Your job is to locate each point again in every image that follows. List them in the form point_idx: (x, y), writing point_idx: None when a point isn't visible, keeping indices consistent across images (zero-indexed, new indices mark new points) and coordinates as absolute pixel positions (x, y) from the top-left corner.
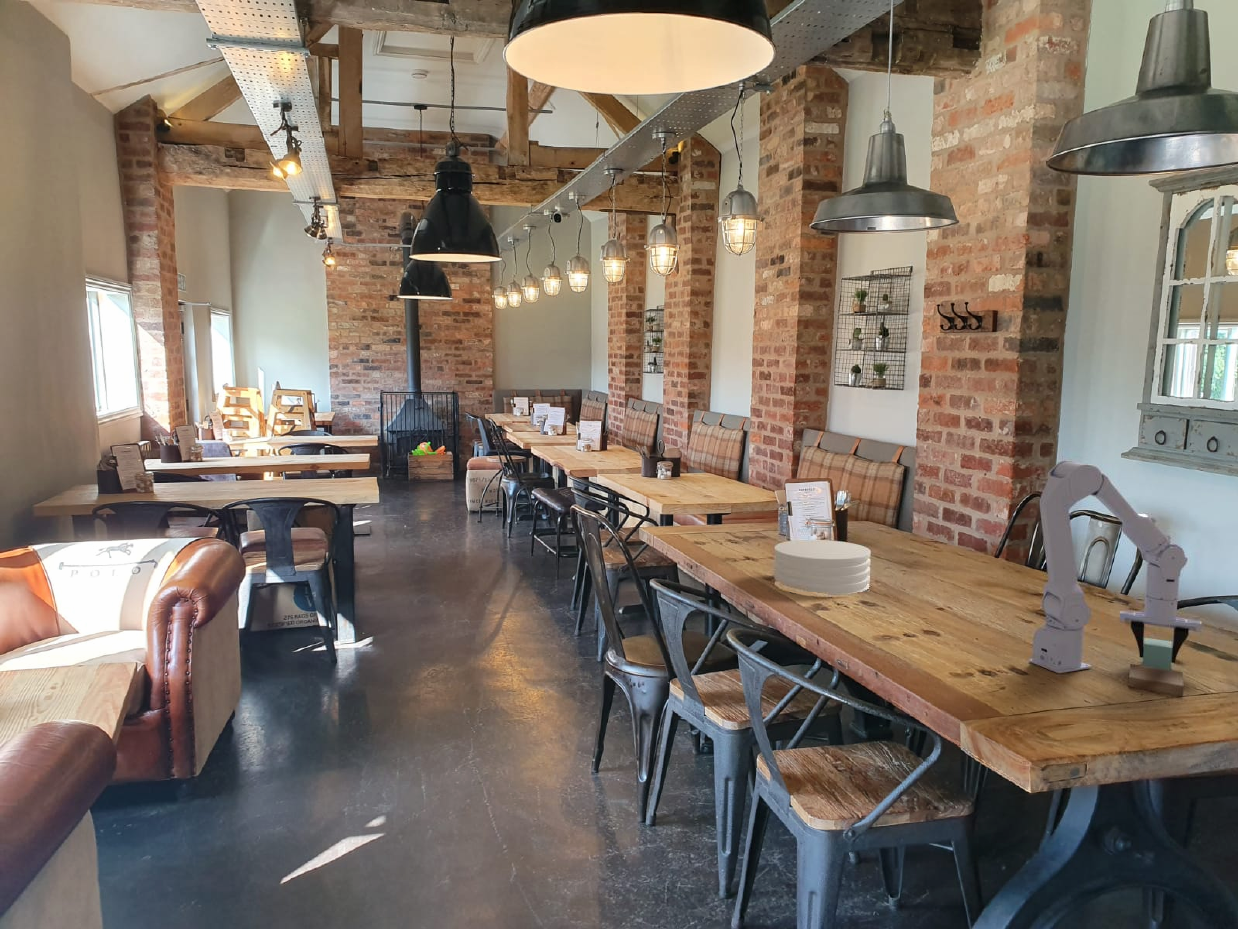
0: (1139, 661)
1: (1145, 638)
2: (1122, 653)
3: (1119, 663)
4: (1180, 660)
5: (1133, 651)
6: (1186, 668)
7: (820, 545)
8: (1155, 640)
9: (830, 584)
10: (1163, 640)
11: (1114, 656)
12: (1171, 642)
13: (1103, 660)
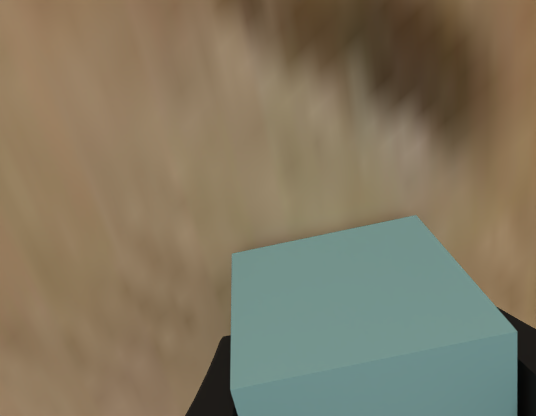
0: (215, 273)
1: (248, 413)
2: (45, 160)
3: (131, 401)
4: (475, 2)
5: (84, 18)
6: (516, 201)
7: None
8: (353, 413)
9: None
10: (429, 355)
11: (40, 283)
12: (511, 366)
13: (33, 412)
